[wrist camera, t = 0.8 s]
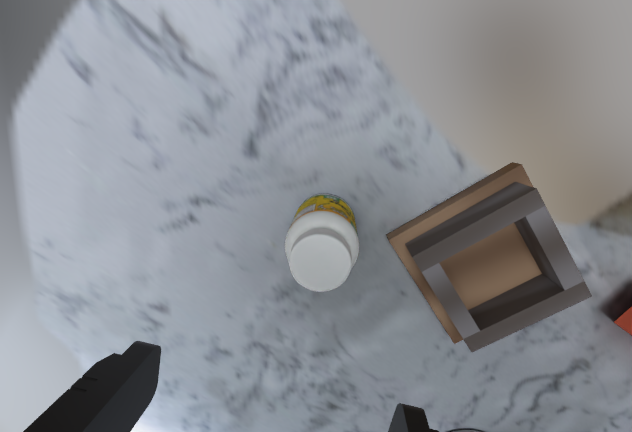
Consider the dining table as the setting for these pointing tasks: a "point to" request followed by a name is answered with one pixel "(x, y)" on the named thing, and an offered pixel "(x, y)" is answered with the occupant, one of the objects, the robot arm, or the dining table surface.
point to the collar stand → (490, 259)
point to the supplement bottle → (322, 243)
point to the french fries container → (625, 321)
